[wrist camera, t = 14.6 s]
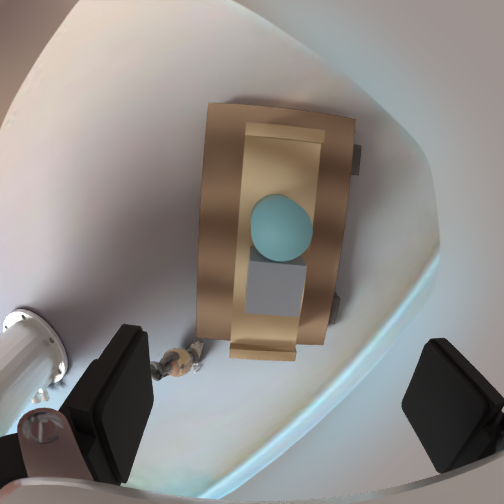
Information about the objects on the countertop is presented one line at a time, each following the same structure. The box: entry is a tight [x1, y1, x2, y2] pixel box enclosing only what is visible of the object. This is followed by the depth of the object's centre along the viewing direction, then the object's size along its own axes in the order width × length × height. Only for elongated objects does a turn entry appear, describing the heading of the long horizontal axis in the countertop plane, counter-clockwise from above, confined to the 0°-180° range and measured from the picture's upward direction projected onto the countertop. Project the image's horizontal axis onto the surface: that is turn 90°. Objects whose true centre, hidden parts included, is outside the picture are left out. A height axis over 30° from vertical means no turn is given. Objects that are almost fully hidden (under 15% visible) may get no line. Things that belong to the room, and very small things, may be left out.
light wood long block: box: [229, 122, 325, 361], centre depth 27 cm, size 20×6×6 cm, turn 175°
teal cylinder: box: [251, 194, 313, 261], centre depth 23 cm, size 4×4×5 cm
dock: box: [196, 103, 361, 345], centre depth 31 cm, size 24×15×3 cm, turn 175°
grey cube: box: [245, 247, 307, 317], centre depth 24 cm, size 4×4×4 cm
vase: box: [150, 340, 204, 381], centre depth 34 cm, size 5×5×6 cm
